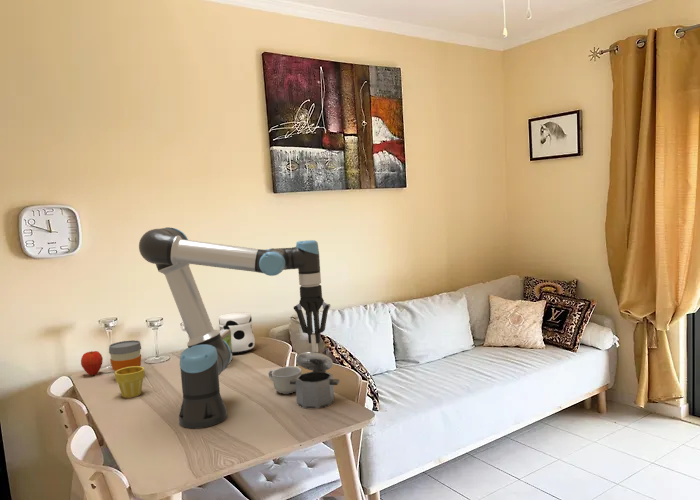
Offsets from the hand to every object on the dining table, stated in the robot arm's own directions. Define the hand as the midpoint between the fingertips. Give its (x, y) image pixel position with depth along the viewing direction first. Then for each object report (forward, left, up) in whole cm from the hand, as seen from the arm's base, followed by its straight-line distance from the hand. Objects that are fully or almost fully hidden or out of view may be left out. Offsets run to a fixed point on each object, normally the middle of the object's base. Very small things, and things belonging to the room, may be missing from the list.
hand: (315, 352), depth 187 cm
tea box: (+41, +58, -17) cm, 73 cm away
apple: (+24, +109, -17) cm, 113 cm away
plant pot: (+1, +74, -17) cm, 76 cm away
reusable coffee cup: (+20, +89, -17) cm, 93 cm away
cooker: (-2, 0, -17) cm, 17 cm away
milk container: (+64, +59, -17) cm, 89 cm away
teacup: (+9, +15, -17) cm, 25 cm away
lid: (-1, 0, -3) cm, 4 cm away
